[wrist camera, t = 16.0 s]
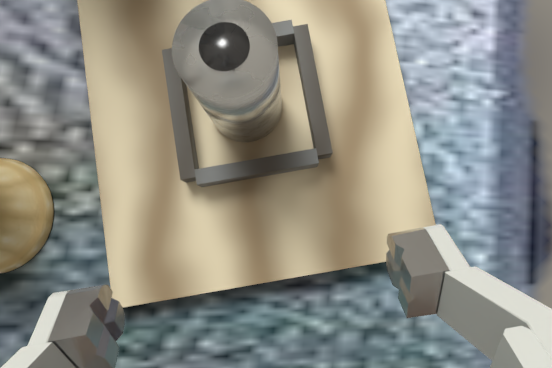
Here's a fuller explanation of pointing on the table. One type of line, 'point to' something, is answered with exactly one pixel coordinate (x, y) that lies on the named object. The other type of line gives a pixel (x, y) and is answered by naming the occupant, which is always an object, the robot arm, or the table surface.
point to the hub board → (249, 152)
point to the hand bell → (22, 213)
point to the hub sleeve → (231, 66)
